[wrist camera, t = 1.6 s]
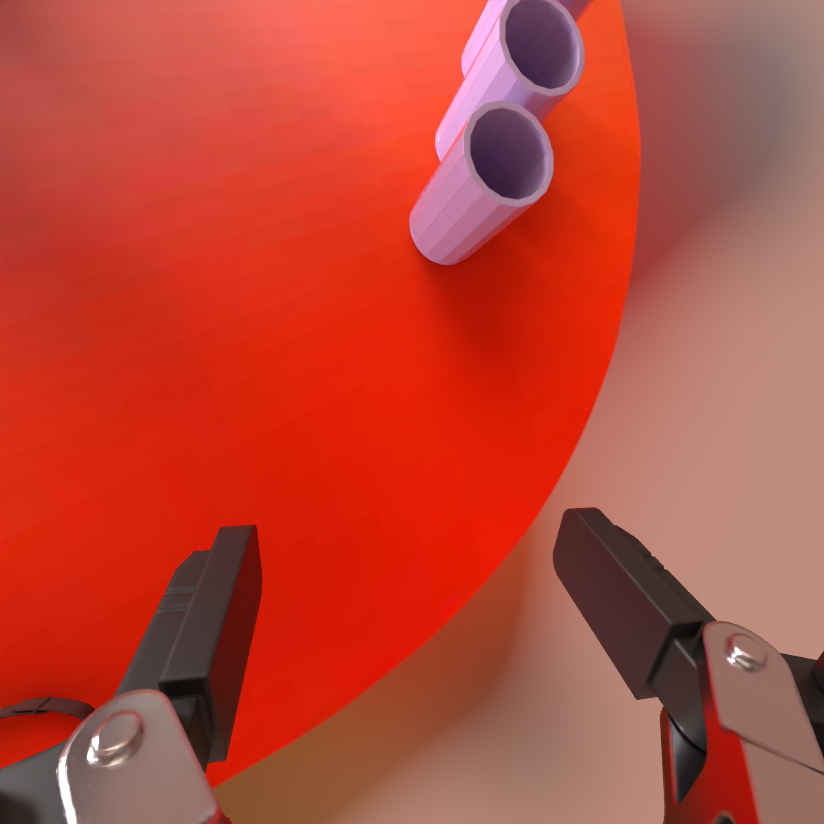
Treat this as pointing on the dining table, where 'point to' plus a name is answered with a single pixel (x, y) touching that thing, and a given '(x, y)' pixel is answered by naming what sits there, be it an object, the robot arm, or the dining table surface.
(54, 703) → the watch
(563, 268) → the dining table surface
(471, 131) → the end cup
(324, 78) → the dining table surface
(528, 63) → the middle cup
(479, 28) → the cup
